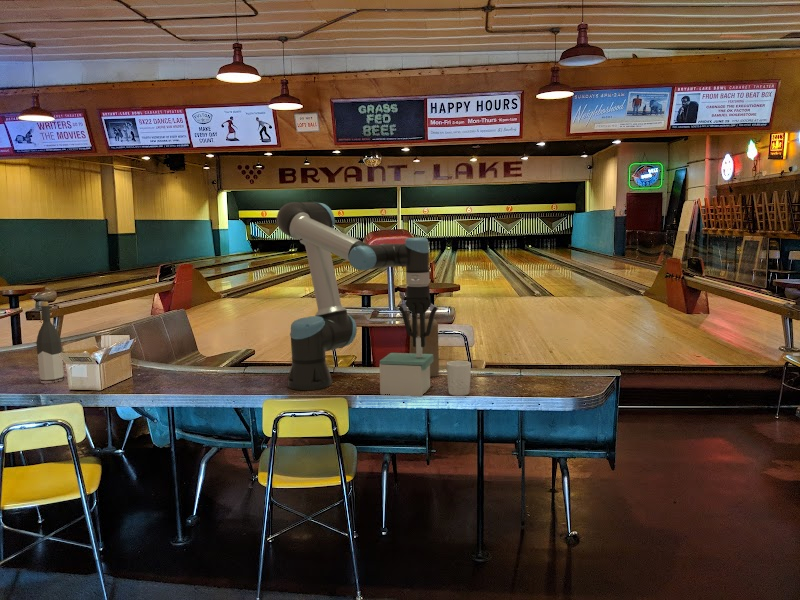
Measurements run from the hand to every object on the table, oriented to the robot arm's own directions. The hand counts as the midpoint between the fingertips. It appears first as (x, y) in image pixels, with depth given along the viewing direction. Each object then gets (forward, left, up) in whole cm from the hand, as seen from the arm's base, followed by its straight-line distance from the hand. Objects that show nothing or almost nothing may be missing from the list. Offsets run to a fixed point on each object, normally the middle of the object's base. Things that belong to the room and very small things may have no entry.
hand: (419, 356), depth 208 cm
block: (-4, +23, -12) cm, 26 cm away
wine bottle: (-139, -11, -12) cm, 140 cm away
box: (-5, 0, -12) cm, 13 cm away
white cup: (+13, 0, -12) cm, 18 cm away
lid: (-4, 0, -3) cm, 5 cm away
